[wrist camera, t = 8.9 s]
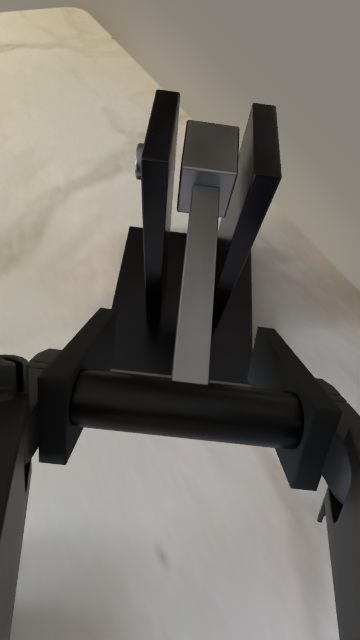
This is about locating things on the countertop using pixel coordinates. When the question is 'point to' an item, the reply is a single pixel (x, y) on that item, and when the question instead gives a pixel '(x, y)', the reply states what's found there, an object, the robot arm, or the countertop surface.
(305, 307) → the countertop surface
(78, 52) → the countertop surface
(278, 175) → the black lever stand
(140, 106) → the countertop surface
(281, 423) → the lever
